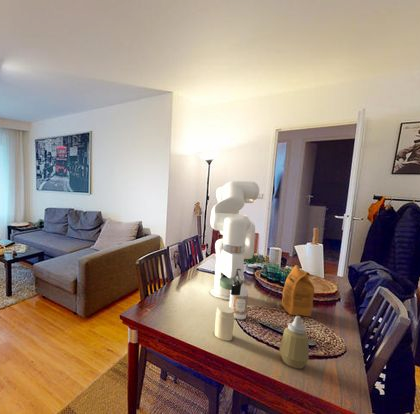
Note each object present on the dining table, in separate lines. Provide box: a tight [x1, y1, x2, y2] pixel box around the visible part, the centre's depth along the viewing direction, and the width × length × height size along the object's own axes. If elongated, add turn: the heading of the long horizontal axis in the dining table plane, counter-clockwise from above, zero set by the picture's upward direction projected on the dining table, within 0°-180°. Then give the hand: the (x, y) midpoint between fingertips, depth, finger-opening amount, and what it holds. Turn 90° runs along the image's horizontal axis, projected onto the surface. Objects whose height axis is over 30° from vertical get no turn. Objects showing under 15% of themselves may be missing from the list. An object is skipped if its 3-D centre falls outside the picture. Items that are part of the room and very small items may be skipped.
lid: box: [220, 277, 238, 290], centre depth 111 cm, size 8×8×2 cm
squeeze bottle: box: [279, 315, 310, 369], centre depth 97 cm, size 8×8×18 cm
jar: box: [214, 304, 235, 341], centre depth 113 cm, size 6×6×12 cm
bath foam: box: [228, 275, 249, 320], centre depth 128 cm, size 7×7×20 cm
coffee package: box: [281, 264, 315, 317], centre depth 132 cm, size 10×12×22 cm
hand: (229, 289), depth 111 cm, fingers closed on lid, 7 cm apart
